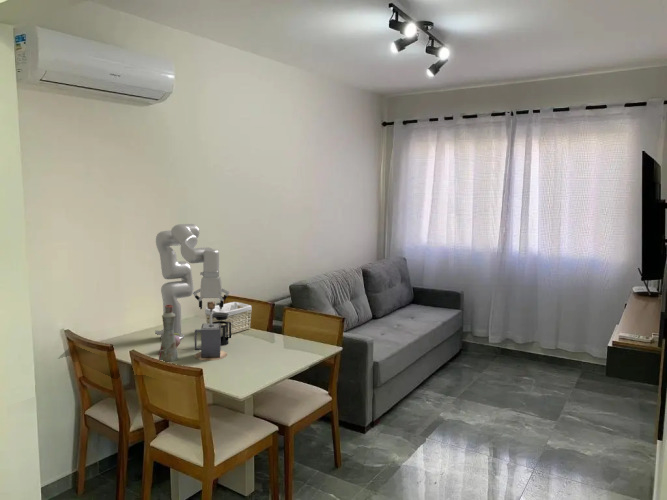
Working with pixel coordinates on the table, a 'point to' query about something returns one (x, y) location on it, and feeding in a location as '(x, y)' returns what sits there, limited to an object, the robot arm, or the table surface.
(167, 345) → the bottle
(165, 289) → the robot arm
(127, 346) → the table surface
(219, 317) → the french press
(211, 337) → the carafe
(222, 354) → the coaster
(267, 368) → the table surface
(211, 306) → the plunger
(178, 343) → the decorative fruit
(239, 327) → the storage basket
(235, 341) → the table surface
